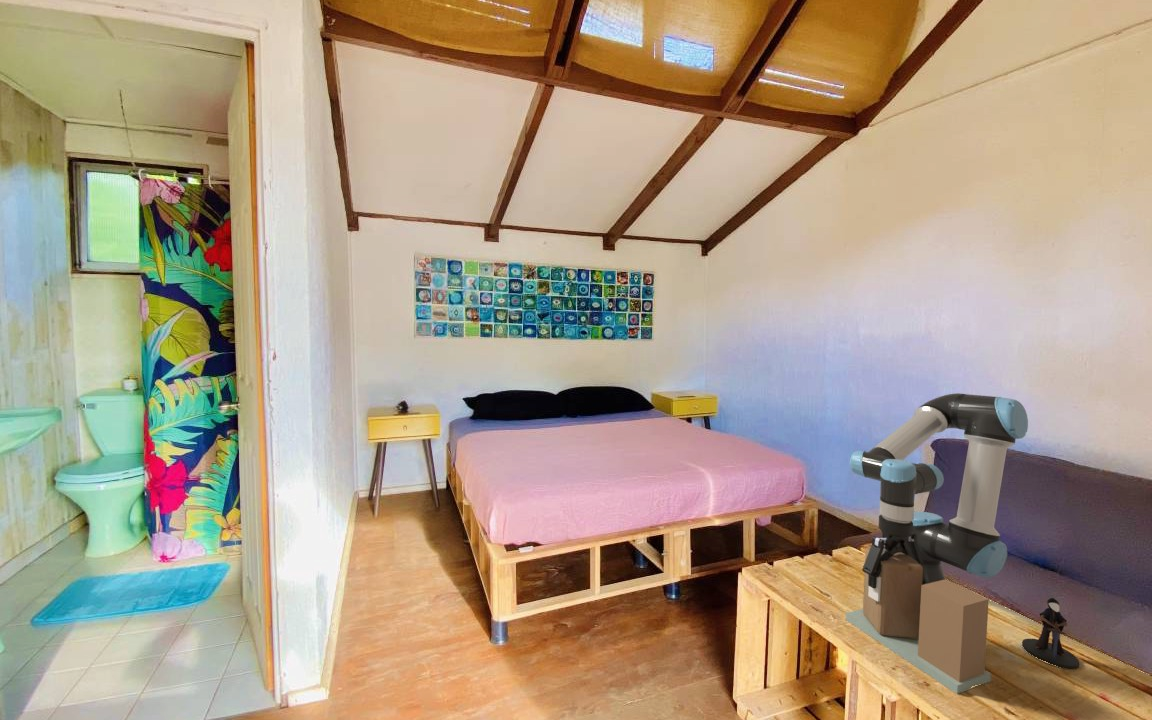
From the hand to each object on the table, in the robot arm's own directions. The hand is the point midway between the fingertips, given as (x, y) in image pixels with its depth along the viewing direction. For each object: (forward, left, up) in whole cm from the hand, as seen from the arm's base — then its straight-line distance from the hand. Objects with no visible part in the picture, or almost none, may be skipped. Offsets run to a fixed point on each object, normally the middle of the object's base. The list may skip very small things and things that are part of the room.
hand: (892, 594), depth 120 cm
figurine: (-32, +19, -12) cm, 39 cm away
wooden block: (0, 0, -9) cm, 9 cm away
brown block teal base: (0, +6, -11) cm, 12 cm away
